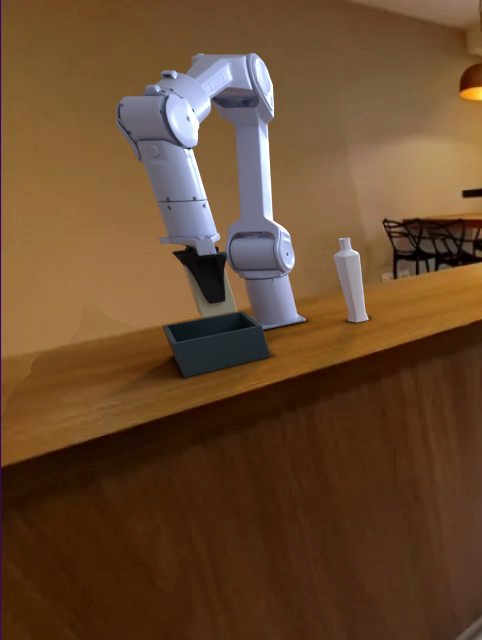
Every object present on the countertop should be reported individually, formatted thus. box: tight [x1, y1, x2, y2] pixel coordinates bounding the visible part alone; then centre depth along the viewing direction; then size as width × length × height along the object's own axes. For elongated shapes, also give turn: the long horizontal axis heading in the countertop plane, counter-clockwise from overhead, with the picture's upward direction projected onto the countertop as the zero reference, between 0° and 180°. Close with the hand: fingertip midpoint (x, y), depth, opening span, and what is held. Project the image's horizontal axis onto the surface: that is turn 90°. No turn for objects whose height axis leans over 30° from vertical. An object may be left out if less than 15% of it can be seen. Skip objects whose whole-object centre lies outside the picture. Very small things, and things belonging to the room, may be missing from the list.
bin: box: [162, 310, 271, 379], centre depth 67 cm, size 11×11×5 cm
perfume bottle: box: [333, 237, 370, 324], centre depth 81 cm, size 5×4×15 cm
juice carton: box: [182, 265, 238, 319], centre depth 64 cm, size 4×4×9 cm
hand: (214, 299), depth 65 cm, fingers closed on juice carton, 3 cm apart
